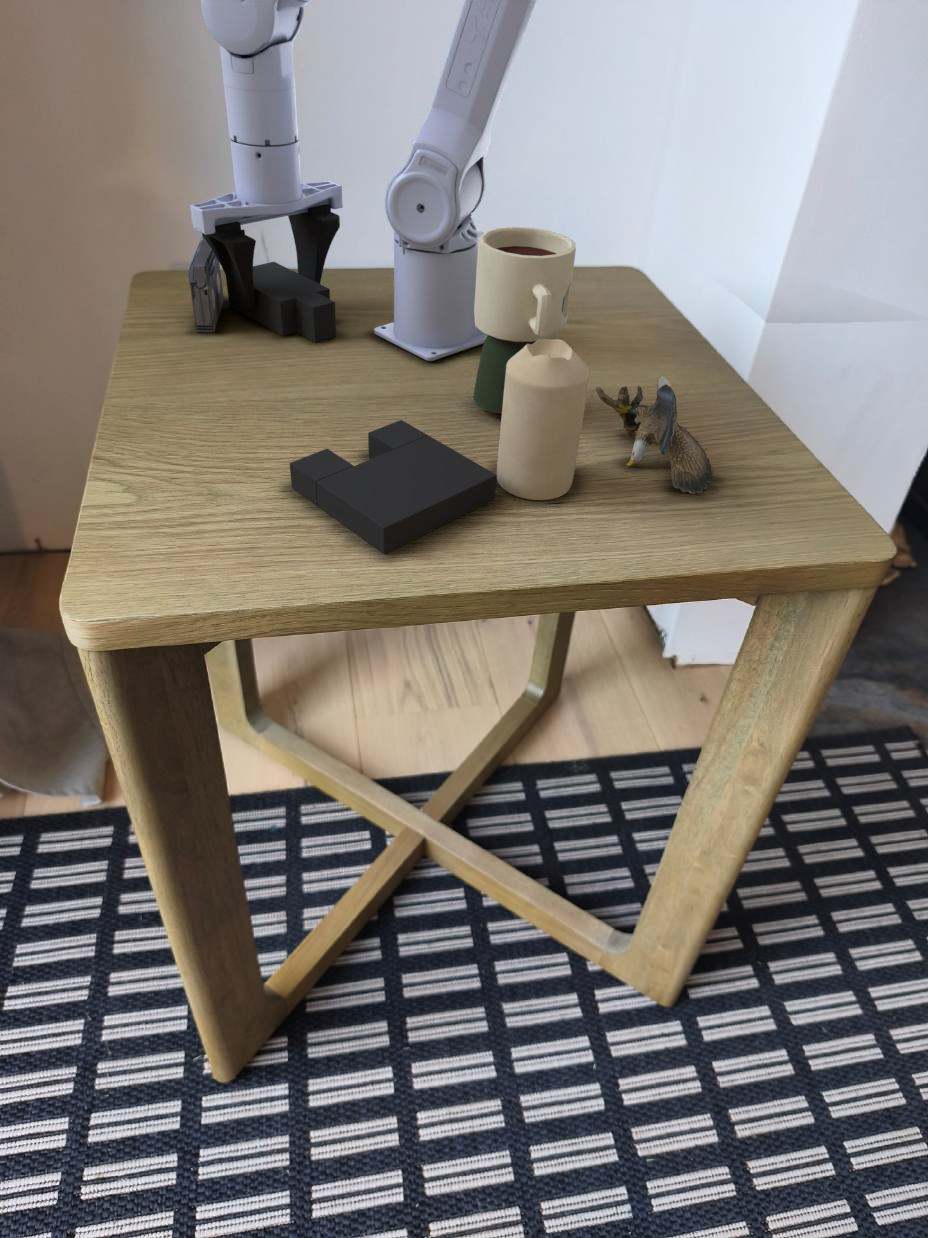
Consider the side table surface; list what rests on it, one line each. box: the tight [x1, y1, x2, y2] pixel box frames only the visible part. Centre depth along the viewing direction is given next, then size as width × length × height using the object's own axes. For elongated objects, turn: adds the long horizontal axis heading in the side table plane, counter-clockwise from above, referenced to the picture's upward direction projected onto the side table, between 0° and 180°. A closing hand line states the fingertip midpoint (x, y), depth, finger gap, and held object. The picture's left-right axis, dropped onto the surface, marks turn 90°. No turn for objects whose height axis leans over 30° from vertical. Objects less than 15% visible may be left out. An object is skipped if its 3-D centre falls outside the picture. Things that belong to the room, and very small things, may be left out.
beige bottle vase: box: [496, 338, 591, 501], centre depth 58 cm, size 6×6×10 cm
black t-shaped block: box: [225, 261, 337, 343], centre depth 80 cm, size 6×12×3 cm, turn 44°
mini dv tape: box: [188, 235, 225, 333], centre depth 79 cm, size 8×2×6 cm, turn 6°
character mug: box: [472, 226, 577, 414], centre depth 66 cm, size 11×7×13 cm, turn 14°
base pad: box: [289, 419, 498, 555], centre depth 59 cm, size 10×10×2 cm
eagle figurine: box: [595, 375, 713, 495], centre depth 63 cm, size 8×7×9 cm
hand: (278, 299), depth 81 cm, fingers open, 7 cm apart
